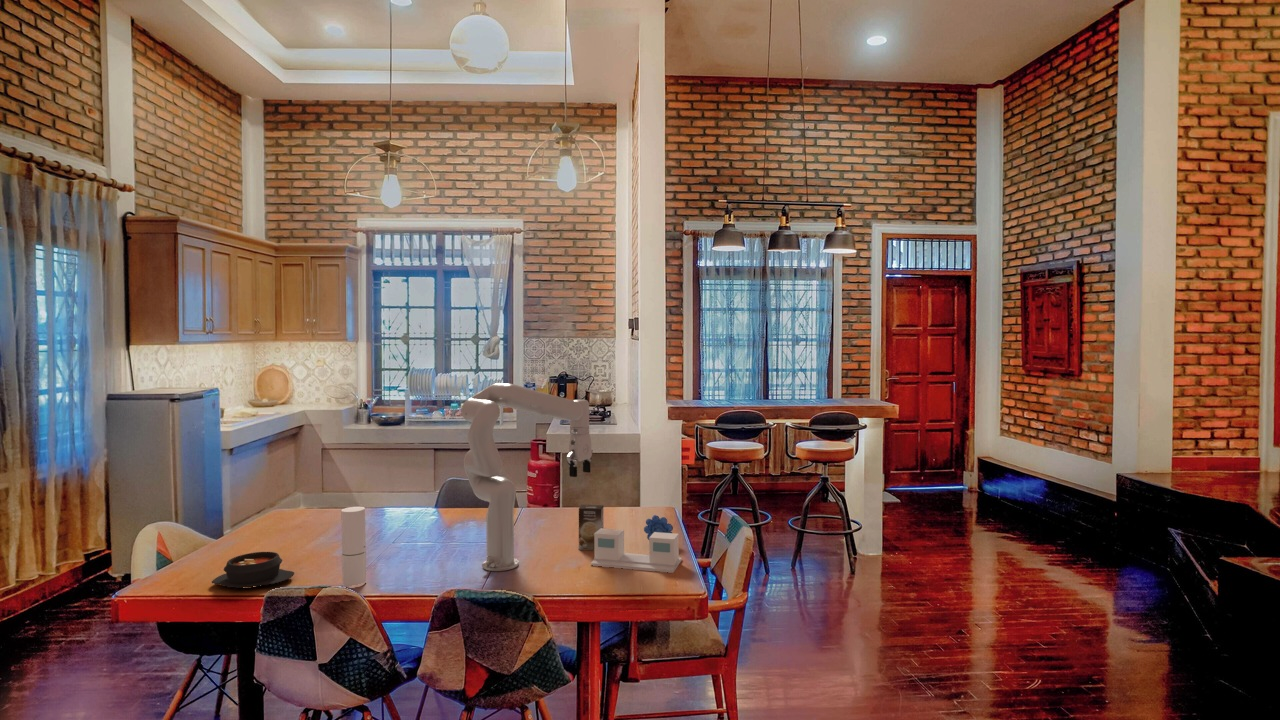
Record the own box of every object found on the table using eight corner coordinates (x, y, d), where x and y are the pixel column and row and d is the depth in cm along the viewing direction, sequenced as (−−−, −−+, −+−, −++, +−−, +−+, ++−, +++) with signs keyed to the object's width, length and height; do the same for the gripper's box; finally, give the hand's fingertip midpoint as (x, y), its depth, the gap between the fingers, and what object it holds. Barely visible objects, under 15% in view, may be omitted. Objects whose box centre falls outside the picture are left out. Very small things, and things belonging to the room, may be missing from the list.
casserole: (305, 573, 231) (305, 549, 231) (274, 593, 213) (273, 567, 213) (235, 573, 232) (234, 549, 232) (197, 593, 214) (197, 567, 214)
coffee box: (577, 550, 255) (577, 508, 255) (581, 545, 262) (580, 504, 261) (601, 550, 254) (601, 508, 254) (604, 545, 261) (603, 504, 260)
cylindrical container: (369, 580, 224) (368, 506, 223) (361, 588, 217) (360, 511, 216) (347, 581, 224) (346, 506, 223) (339, 588, 216) (337, 512, 216)
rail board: (673, 573, 229) (672, 542, 228) (590, 565, 237) (590, 536, 237) (681, 560, 242) (681, 531, 242) (603, 553, 250) (603, 525, 250)
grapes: (644, 549, 255) (644, 518, 255) (643, 544, 262) (643, 513, 262) (674, 548, 256) (674, 517, 255) (673, 543, 262) (673, 513, 262)
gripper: (575, 434, 253) (576, 479, 254) (599, 429, 269) (599, 471, 269) (559, 433, 257) (559, 477, 257) (583, 428, 272) (583, 469, 273)
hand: (580, 474), depth 263 cm, fingers open, 9 cm apart
